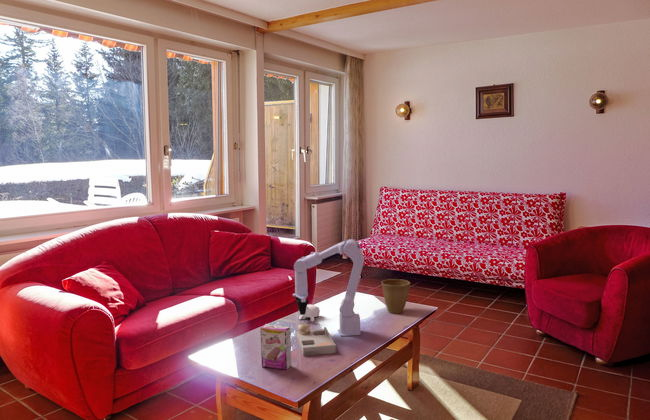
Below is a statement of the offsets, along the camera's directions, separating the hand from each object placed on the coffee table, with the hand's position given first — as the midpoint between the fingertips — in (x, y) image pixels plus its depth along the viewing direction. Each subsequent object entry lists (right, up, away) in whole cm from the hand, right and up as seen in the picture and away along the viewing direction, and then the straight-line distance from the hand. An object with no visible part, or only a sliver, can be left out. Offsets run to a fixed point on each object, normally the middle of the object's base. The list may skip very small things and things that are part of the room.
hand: (301, 312), depth 241 cm
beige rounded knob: (+1, -8, -6) cm, 10 cm away
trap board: (+7, -11, -14) cm, 19 cm away
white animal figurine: (+2, -8, +19) cm, 21 cm away
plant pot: (+48, -5, +29) cm, 56 cm away
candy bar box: (-8, -14, -37) cm, 41 cm away
